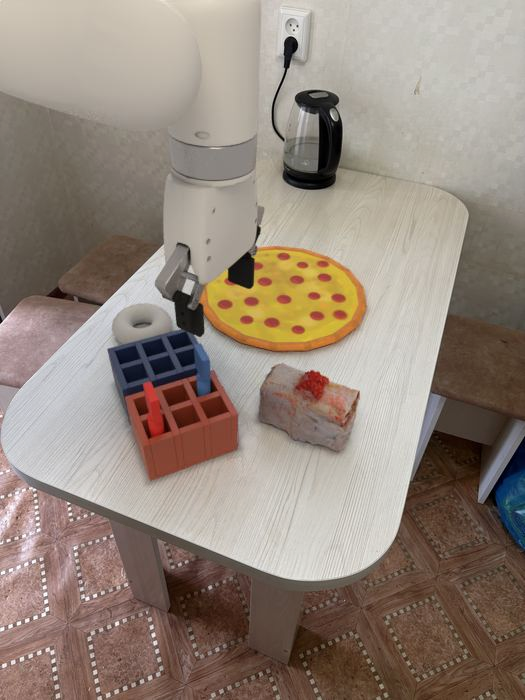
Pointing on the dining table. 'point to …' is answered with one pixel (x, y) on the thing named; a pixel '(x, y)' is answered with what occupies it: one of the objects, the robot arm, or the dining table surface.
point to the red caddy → (184, 426)
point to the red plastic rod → (153, 411)
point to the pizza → (287, 301)
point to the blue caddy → (152, 362)
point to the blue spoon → (202, 370)
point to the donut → (140, 314)
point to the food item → (308, 406)
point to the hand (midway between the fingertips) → (217, 306)
